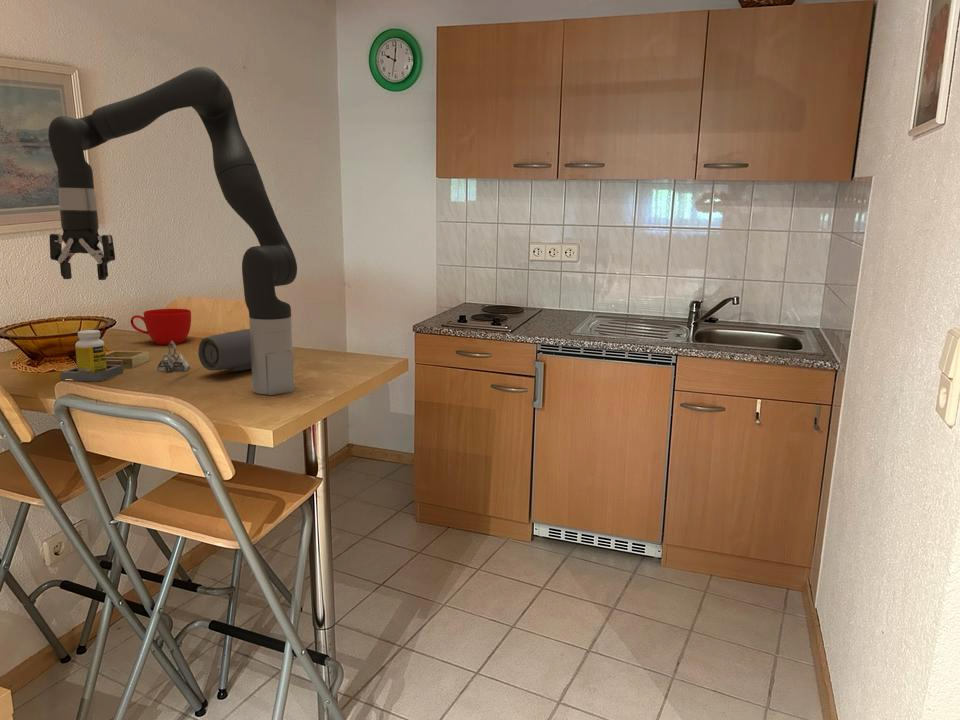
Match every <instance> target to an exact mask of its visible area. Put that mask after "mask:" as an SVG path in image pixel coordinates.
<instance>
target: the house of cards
mask: <svg viewBox="0 0 960 720" xmlns="http://www.w3.org/2000/svg"><path fill="white" fill-rule="evenodd" d="M171 343H172V345H171ZM171 348H173V353H172V351H171V350H172V349H171ZM167 350H168V351H167V352H168V353H165V354H164V356H163V357H162V359H161V360H160V361H159V363H158V365H157V366H156V372H165V373H167V372H171V373H173V372H187V371H189V370H190V369H191V364H189V362H188V360H187V359H185V358H184V356H183V355H182V354H181V353H177V344H174V342H173V341H171V342H170V344H169V345H167ZM169 355H171V356H169ZM172 358H173V359H172ZM179 358H180V359H179Z"/></svg>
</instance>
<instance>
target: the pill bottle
mask: <svg viewBox="0 0 960 720" xmlns="http://www.w3.org/2000/svg"><path fill="white" fill-rule="evenodd" d="M77 338H78V339H79V340H78V341H76V343H75V345H74V349H75V357H76V359H75V360H76V367H77V371H78V372H100V371H103V370H106V369H107V368H106V356H105V354H106V346H105V341H103V340H102V339H100V338H101V331H100V330H98V329H89V330H88V329H87V330H80V331H77Z"/></svg>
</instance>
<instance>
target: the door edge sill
mask: <svg viewBox="0 0 960 720" xmlns="http://www.w3.org/2000/svg"><path fill="white" fill-rule="evenodd" d="M106 365H122V368H123V371H124V369H125V368H124V366H123V360H106Z"/></svg>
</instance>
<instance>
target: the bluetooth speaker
mask: <svg viewBox="0 0 960 720" xmlns="http://www.w3.org/2000/svg"><path fill="white" fill-rule="evenodd" d="M197 350H198V352H197V353H198V354H197V355H198V360H199V361H200V363H201V365H202V366H203V368H204V369H206V370H208V371H210V372H211V371H212V372H213V371H223V370H228V371H229V372H233V373H234V372H242V371H247V370H252V367H251V346H250V328H246V329H239V330H234V331H227V332H224V333H219V334H214V335H210V336H207V337H203V338H202V339H201V341H200V343H199V345H198V349H197Z"/></svg>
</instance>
